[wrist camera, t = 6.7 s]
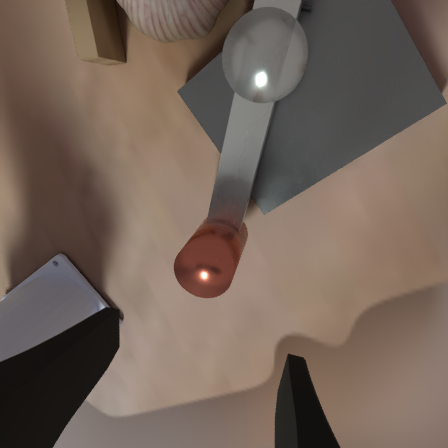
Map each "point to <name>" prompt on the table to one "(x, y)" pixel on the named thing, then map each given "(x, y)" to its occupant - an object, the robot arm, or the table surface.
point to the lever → (244, 136)
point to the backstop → (96, 31)
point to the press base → (328, 97)
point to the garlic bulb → (173, 17)
